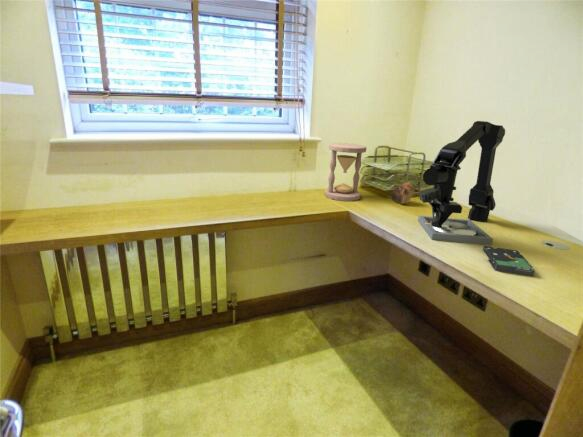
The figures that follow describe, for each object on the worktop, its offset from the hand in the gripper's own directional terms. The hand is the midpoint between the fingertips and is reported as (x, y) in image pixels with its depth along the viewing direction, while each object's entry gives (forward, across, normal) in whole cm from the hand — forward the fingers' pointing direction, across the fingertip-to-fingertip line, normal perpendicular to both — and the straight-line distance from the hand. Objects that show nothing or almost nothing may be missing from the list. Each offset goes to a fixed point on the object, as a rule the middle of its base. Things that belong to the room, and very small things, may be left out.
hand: (437, 223), depth 128 cm
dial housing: (+4, 0, +6) cm, 7 cm away
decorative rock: (+4, -40, 0) cm, 40 cm away
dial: (+3, 0, +6) cm, 7 cm away
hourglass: (+4, -46, -27) cm, 54 cm away
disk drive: (+4, +24, +12) cm, 27 cm away
